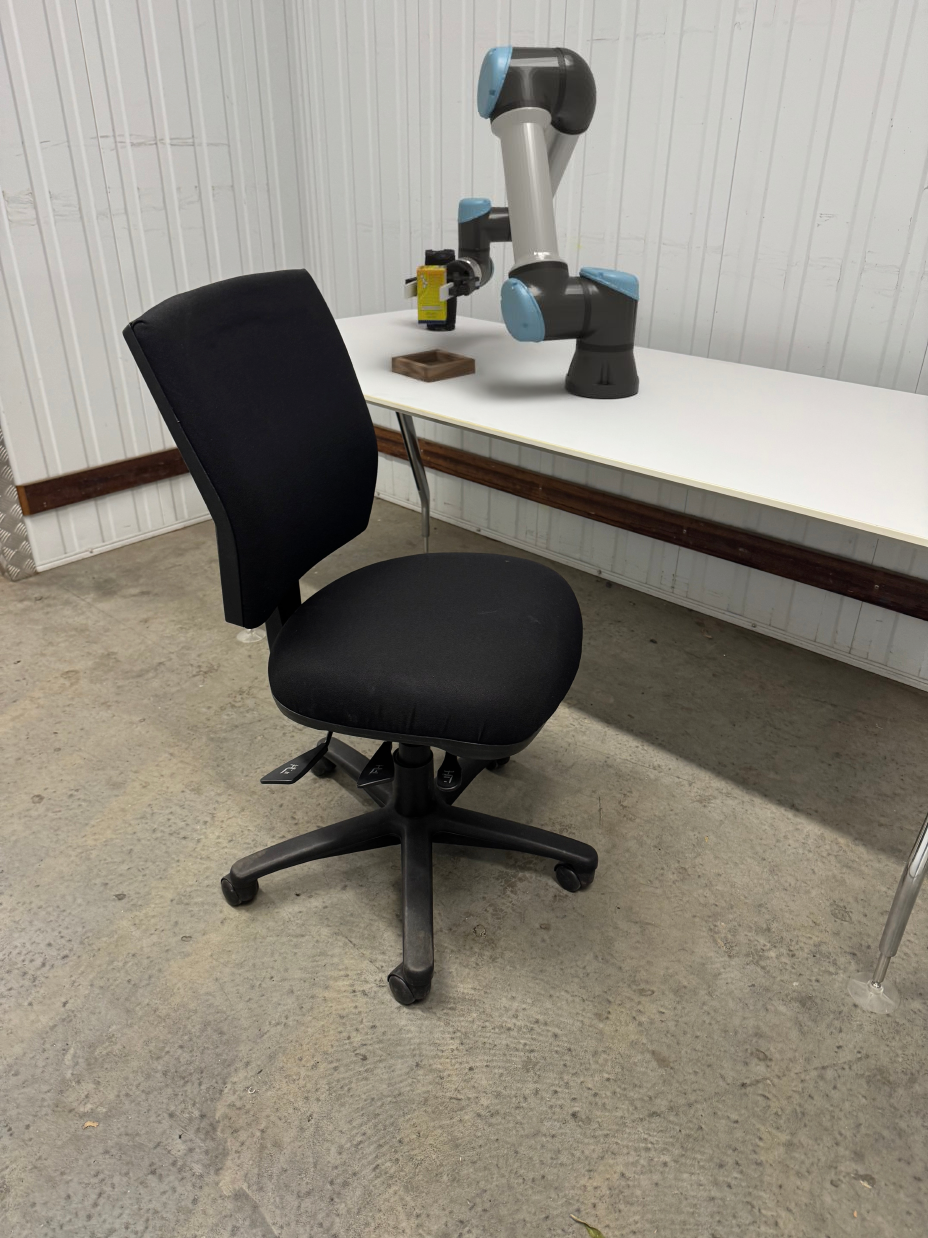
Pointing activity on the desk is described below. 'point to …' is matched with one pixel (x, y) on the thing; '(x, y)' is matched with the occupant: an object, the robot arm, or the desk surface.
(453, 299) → the portable speaker
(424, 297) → the supplement box
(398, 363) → the socket block
